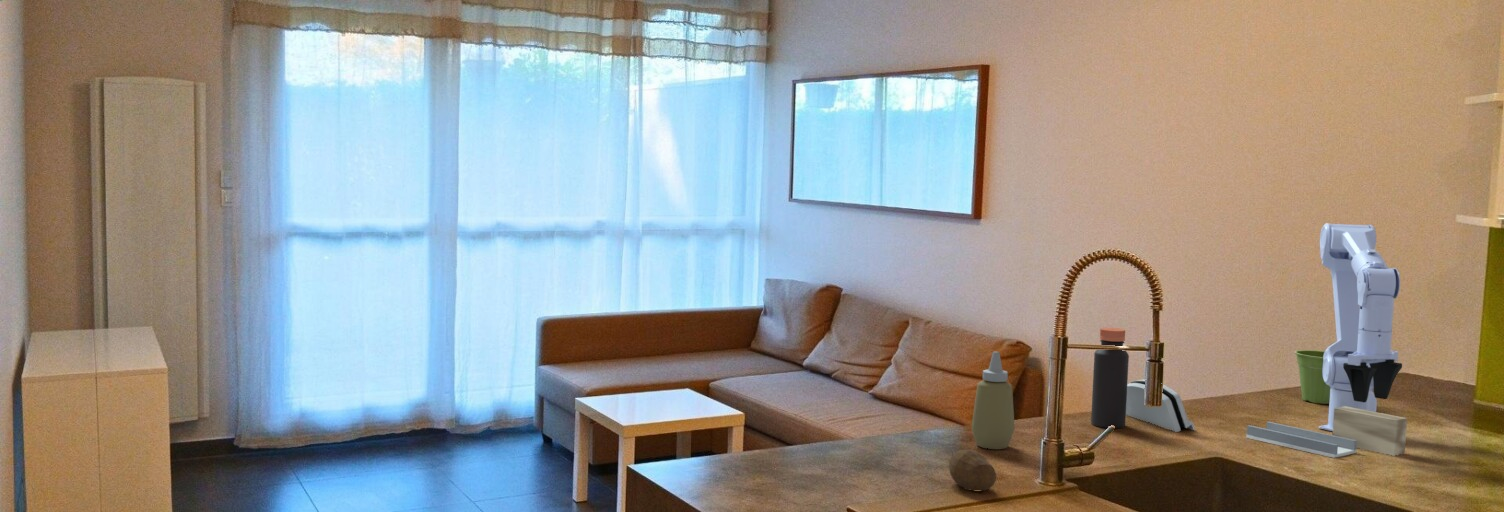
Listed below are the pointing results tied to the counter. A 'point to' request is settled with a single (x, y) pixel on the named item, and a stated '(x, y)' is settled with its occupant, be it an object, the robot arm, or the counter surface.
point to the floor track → (1303, 439)
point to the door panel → (1371, 430)
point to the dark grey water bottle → (1110, 381)
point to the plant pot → (1312, 376)
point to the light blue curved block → (1157, 408)
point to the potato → (972, 470)
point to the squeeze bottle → (993, 408)
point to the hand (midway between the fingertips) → (1370, 399)
